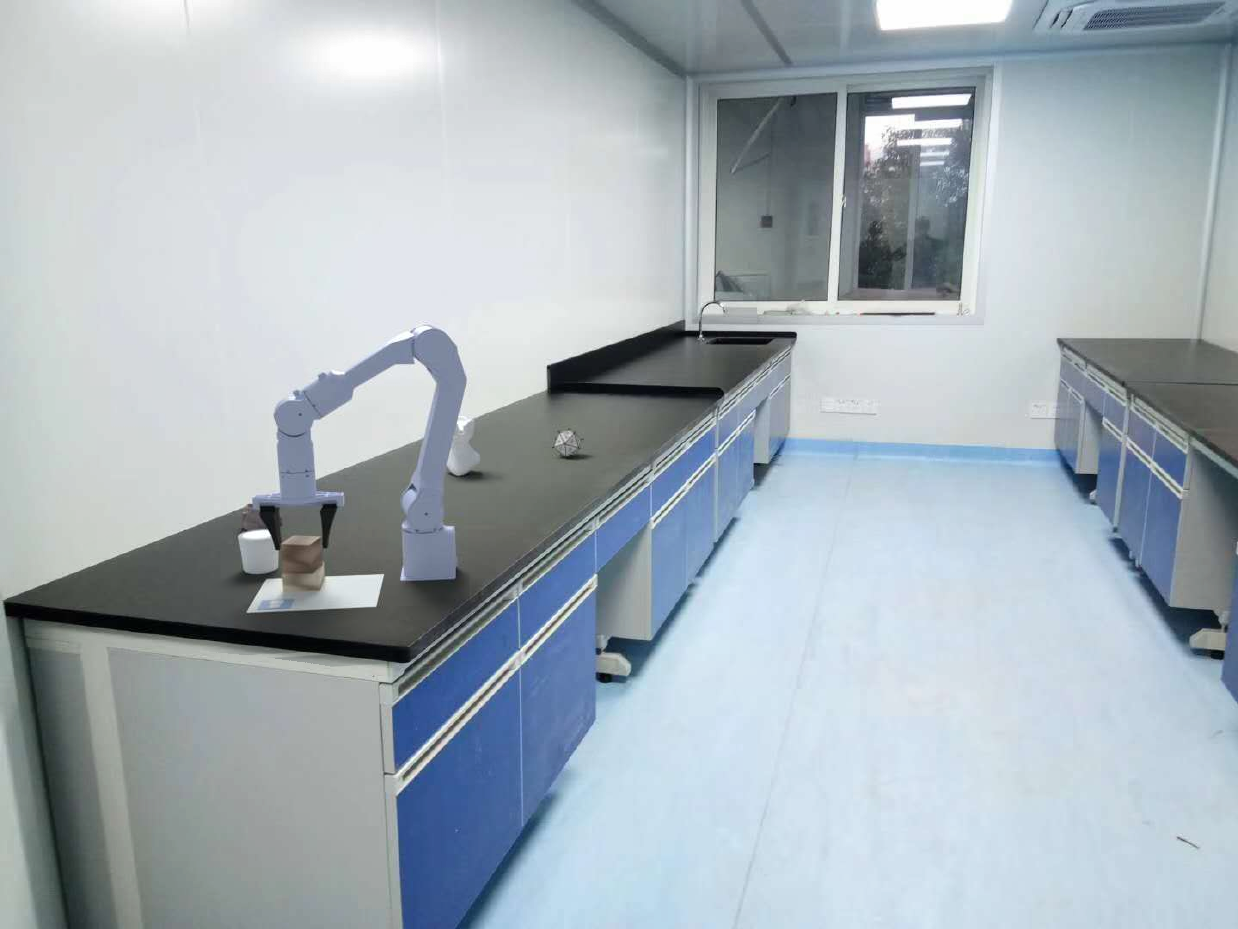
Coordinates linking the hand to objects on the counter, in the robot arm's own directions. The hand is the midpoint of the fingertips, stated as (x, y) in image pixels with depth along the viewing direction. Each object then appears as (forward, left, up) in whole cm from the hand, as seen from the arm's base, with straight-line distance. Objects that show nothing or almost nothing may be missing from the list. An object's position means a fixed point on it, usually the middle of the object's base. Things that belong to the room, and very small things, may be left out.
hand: (302, 547), depth 161 cm
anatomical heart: (-26, -82, -7) cm, 86 cm away
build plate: (-3, +4, -7) cm, 9 cm away
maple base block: (0, 0, -7) cm, 7 cm away
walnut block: (0, 0, -4) cm, 4 cm away
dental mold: (+14, -38, -8) cm, 42 cm away
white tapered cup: (+9, -10, -7) cm, 15 cm away
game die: (-56, -101, -7) cm, 116 cm away
